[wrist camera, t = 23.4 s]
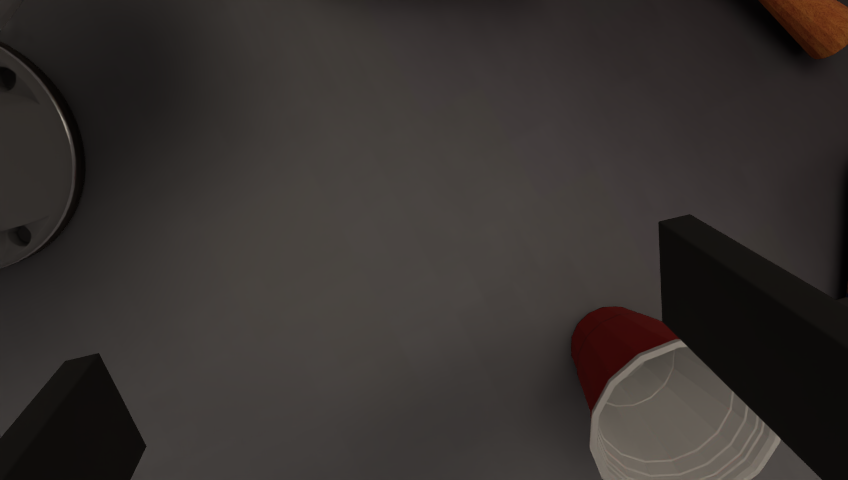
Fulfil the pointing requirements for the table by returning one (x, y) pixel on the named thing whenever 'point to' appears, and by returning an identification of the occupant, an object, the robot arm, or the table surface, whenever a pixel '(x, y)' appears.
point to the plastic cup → (661, 405)
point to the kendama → (813, 24)
